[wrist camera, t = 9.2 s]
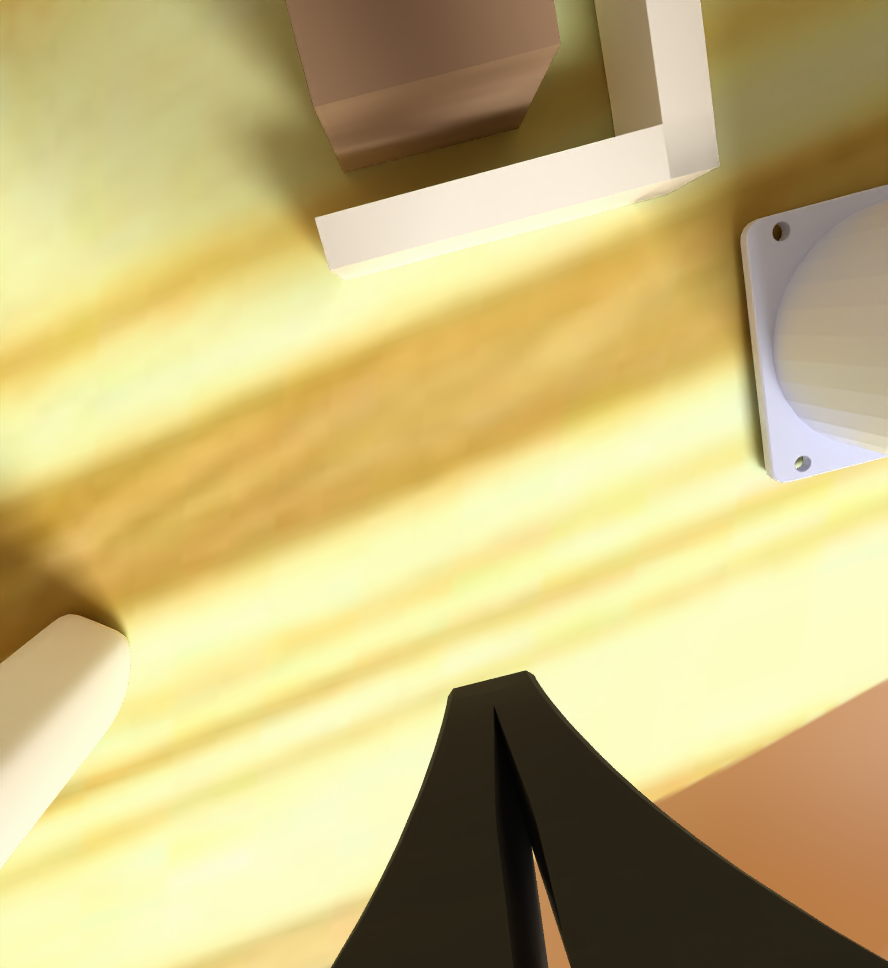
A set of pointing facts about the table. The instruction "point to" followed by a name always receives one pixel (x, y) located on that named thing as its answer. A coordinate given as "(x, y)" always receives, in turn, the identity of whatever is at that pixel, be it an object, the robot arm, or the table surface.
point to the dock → (561, 154)
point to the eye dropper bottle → (54, 715)
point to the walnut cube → (420, 70)
